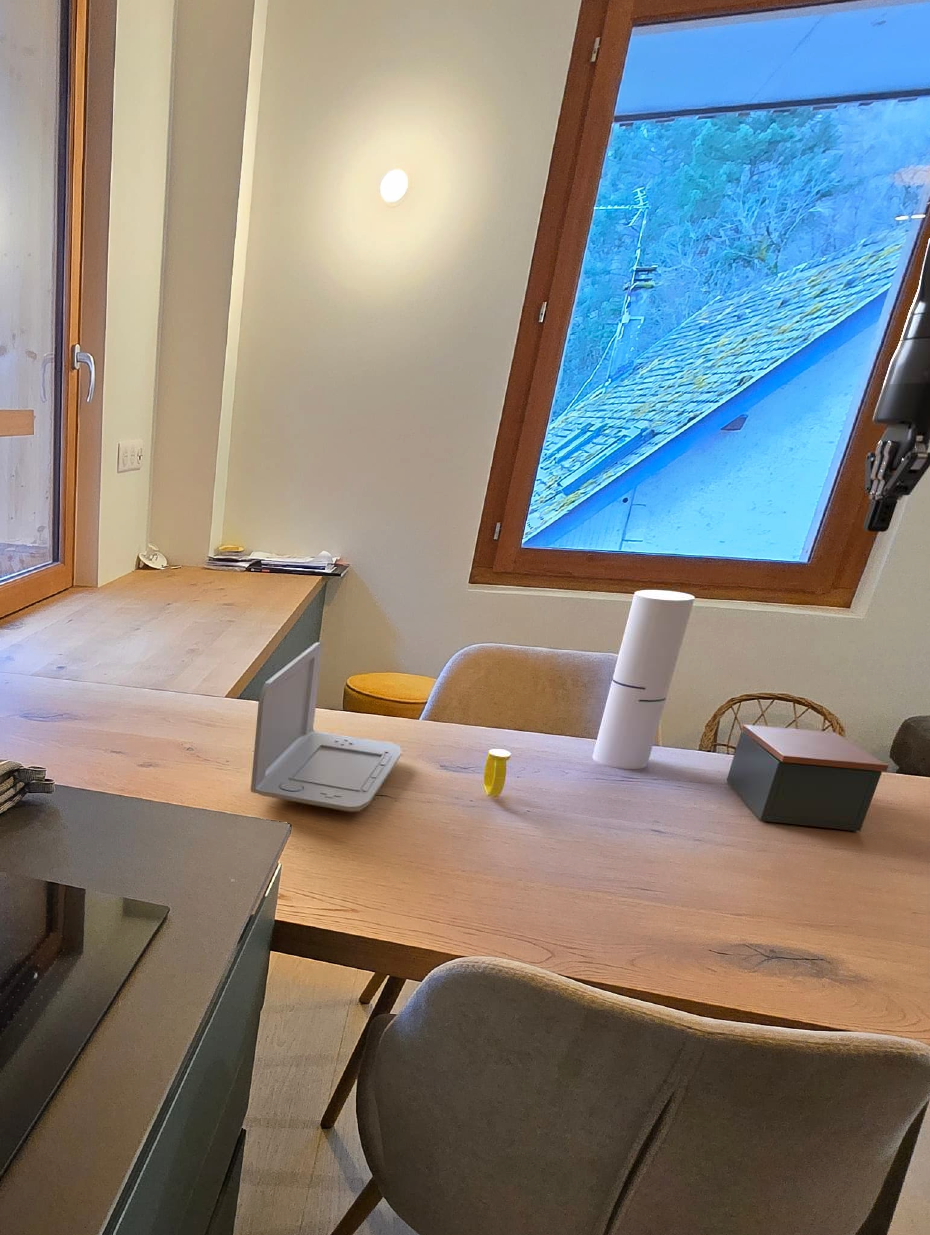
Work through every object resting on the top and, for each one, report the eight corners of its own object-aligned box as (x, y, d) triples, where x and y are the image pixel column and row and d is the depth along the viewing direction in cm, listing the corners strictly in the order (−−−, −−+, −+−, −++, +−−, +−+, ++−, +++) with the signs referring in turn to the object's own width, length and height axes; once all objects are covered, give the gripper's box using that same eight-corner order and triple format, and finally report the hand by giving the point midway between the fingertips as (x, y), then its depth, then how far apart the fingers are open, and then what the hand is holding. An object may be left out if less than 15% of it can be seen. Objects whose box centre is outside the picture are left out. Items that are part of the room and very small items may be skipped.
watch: (475, 784, 134) (484, 743, 132) (497, 785, 134) (505, 745, 131) (483, 800, 129) (492, 758, 127) (506, 801, 129) (515, 760, 126)
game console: (362, 817, 123) (378, 702, 116) (250, 796, 130) (260, 686, 123) (405, 751, 144) (422, 650, 138) (308, 736, 151) (319, 639, 145)
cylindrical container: (595, 752, 148) (637, 588, 137) (648, 761, 144) (696, 593, 133) (588, 766, 143) (631, 596, 132) (643, 776, 139) (692, 602, 128)
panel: (886, 771, 115) (888, 765, 115) (781, 761, 119) (783, 755, 118) (833, 738, 130) (835, 732, 129) (741, 730, 133) (743, 724, 133)
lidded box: (860, 831, 119) (882, 771, 116) (759, 820, 123) (778, 762, 120) (814, 792, 133) (833, 738, 130) (725, 783, 136) (741, 730, 133)
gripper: (992, 377, 109) (935, 536, 116) (935, 384, 121) (886, 528, 128) (911, 378, 112) (860, 534, 118) (863, 384, 123) (819, 526, 130)
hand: (874, 530), depth 123 cm, fingers closed
